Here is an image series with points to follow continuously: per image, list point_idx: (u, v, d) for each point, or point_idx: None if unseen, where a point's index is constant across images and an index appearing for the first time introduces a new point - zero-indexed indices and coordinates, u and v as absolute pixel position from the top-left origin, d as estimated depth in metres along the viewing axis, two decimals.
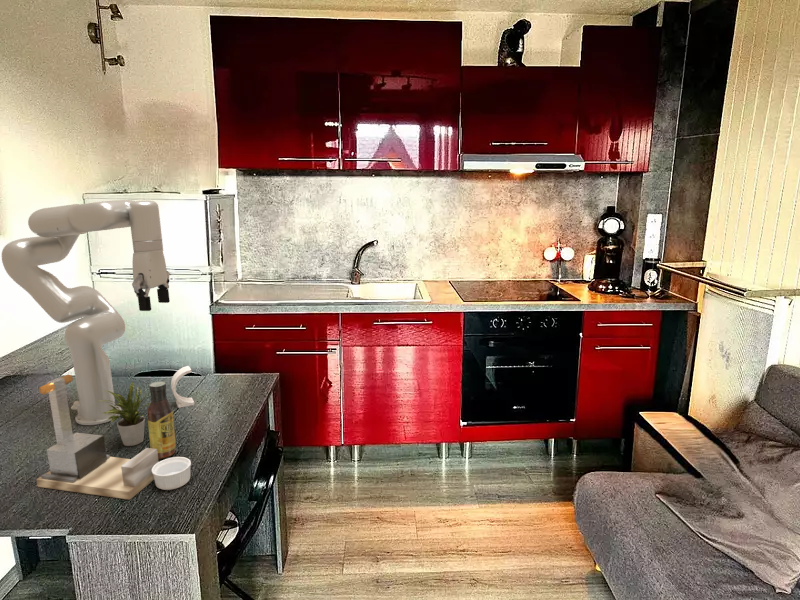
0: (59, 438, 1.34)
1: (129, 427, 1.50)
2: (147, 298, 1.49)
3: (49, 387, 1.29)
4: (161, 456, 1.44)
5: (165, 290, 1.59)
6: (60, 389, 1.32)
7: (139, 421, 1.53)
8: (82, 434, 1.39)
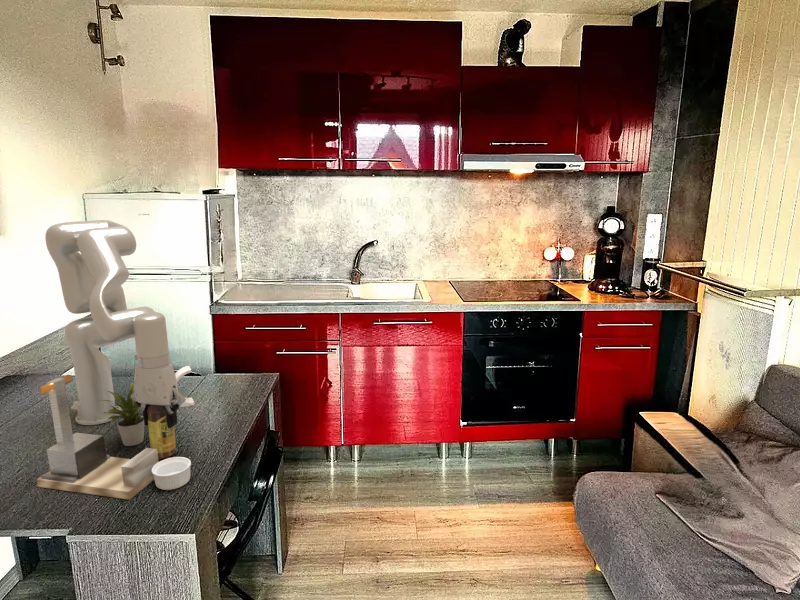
0: (59, 438, 1.34)
1: (129, 427, 1.50)
2: None
3: (49, 387, 1.29)
4: (161, 456, 1.44)
5: None
6: (60, 389, 1.32)
7: (139, 421, 1.53)
8: (82, 434, 1.39)
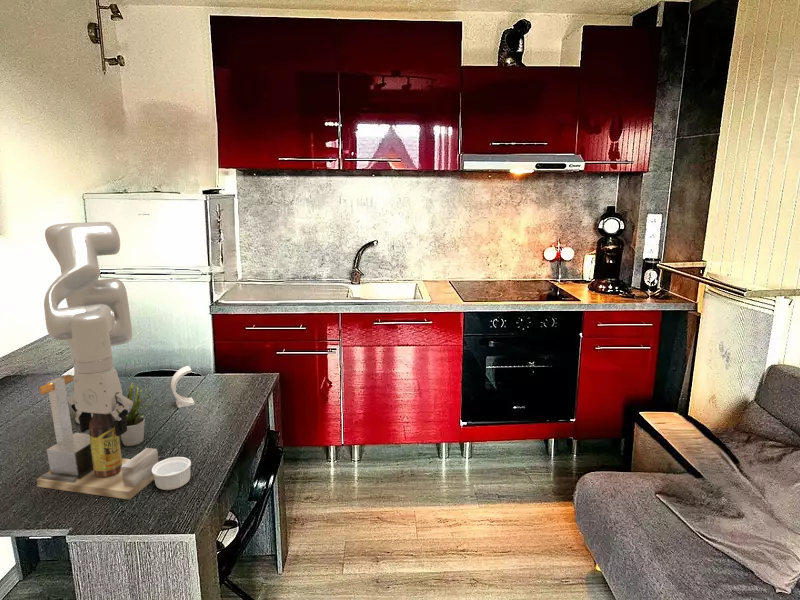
0: (59, 438, 1.34)
1: (129, 427, 1.50)
2: None
3: (49, 387, 1.29)
4: (104, 475, 1.32)
5: (89, 414, 1.33)
6: (60, 389, 1.32)
7: (139, 421, 1.53)
8: (82, 434, 1.39)
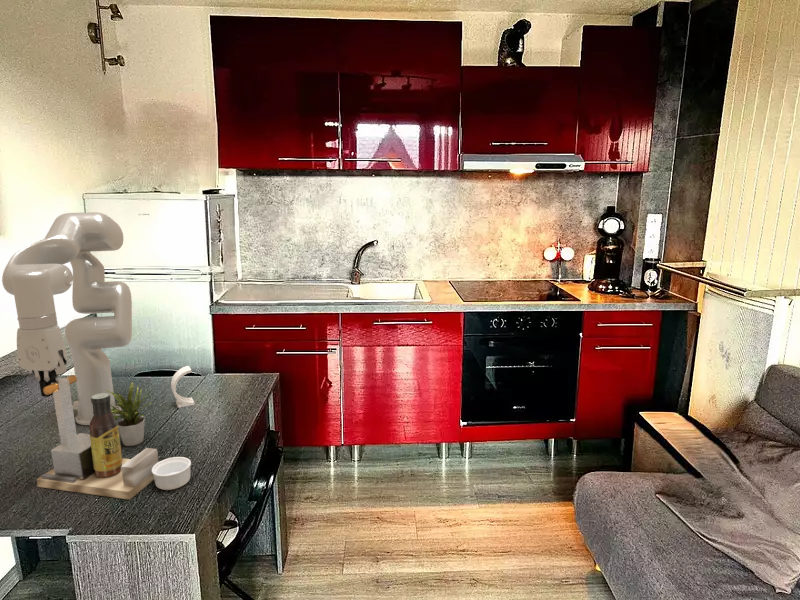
0: (64, 438, 1.33)
1: (129, 427, 1.50)
2: None
3: (53, 387, 1.29)
4: (105, 475, 1.31)
5: None
6: (64, 389, 1.32)
7: (139, 421, 1.53)
8: (86, 434, 1.39)
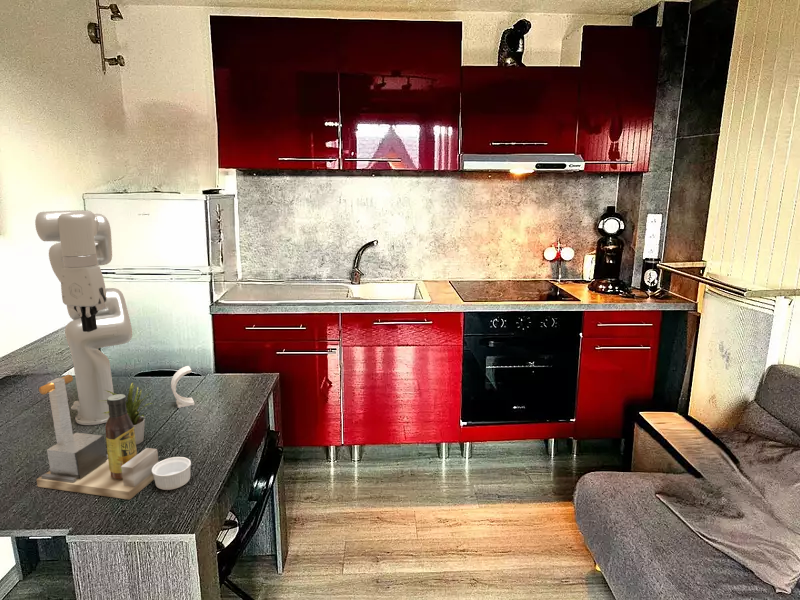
0: (59, 438, 1.34)
1: None
2: None
3: (49, 387, 1.29)
4: (121, 476, 1.31)
5: None
6: (60, 389, 1.32)
7: (139, 421, 1.53)
8: (82, 434, 1.39)
